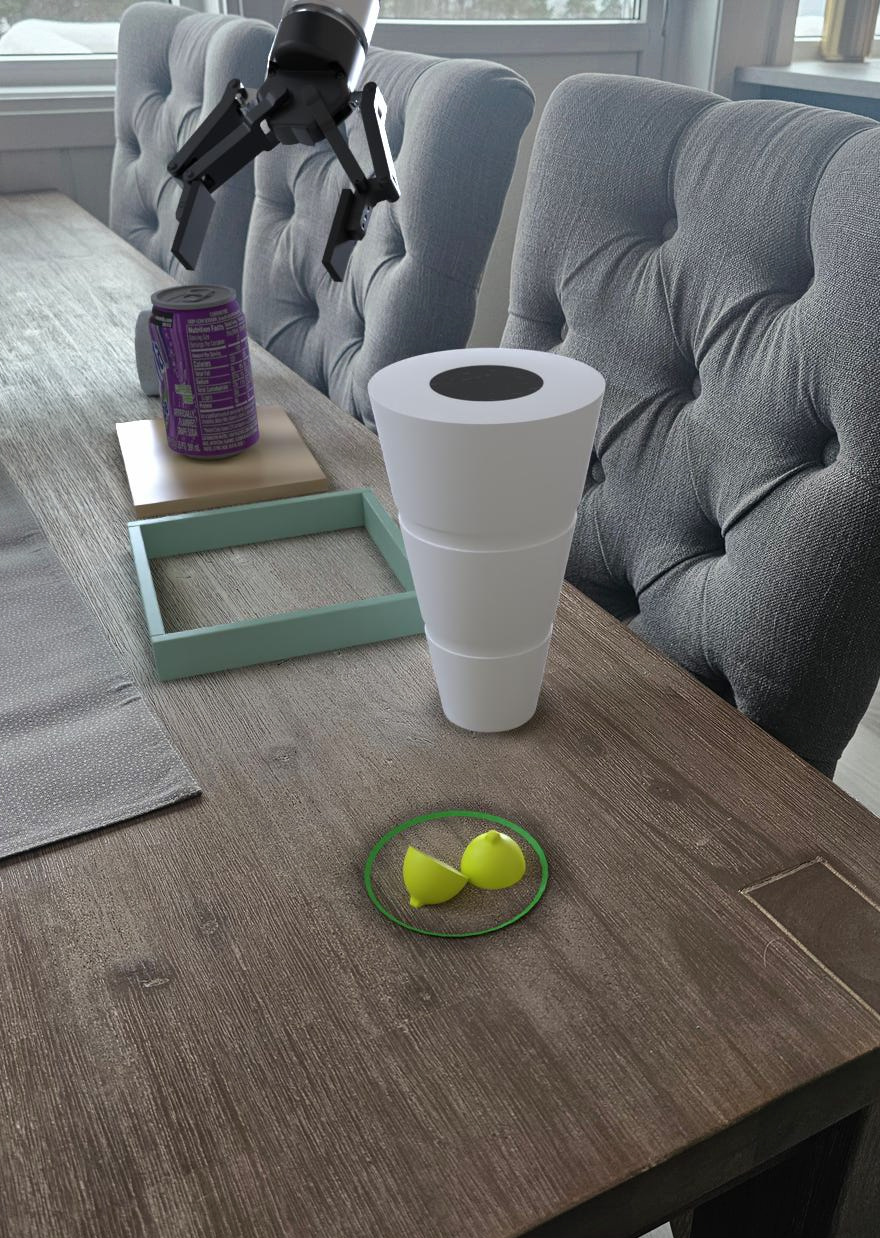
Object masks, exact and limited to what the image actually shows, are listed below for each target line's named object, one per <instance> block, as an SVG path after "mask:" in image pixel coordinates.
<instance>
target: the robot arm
mask: <svg viewBox="0 0 880 1238" xmlns="http://www.w3.org/2000/svg"><path fill="white" fill-rule="evenodd" d="M382 1H383V0H285V1H284V4H283V8H282V11H281V16H280V21H279V23H278V26H277V29H276V32H275V34H274V35H275V36H274V39H273V41H272V45H271V48H270V50H269V54H268V59H267V60H268V62H267V74H266V78H265V80H264V82H263V83H262V84H261V85H260V86H259V87H258V88H255V87H247V86H244V84H243V83H242V82H241V81H242V80H240V79H239V78H237V77H236V78H233V79H230V80H229V82H228V83H227V84H226V87H225V90H224V92H223V94H222V96H221V99H220V101H219V102H218V103H217V104H216V106H215V107H213V109H212V110H211V112H210V113H209V114H208V115H207V116H206V117H205V119H204V120H203V121H202V123H201V124H200V125H199V126H198V127H197V129H196V130H195V131H194V132H193V133H192V135H190V137H189V138H188V140H187V141H185V143H184V144H183V145H182V146H181V148H180V149H179V150H178V151H177V153H176V154H174V156H173V157H172V159H171V160H170V161H168V164H167V165H166V171H167V172H168V174H169V175H170V177H172V179H173V180H174V182H175V183H176V184H177V185H178V186H179V188H180V190H181V194H180V197H179V200H178V202H177V203H178V204H177V206H176V210H175V213H174V214H175V220H176V221H177V222H178V226H177V229H176V232H175V235H174V239H173V242H172V245H171V248H170V252H171V254H172V255H173V256H174V257H175V258H176V259H177V261H178V262H179V263H180V264H181V265H182V266H183V268H184V269H185V270H186V271H191V272H193V271H194V272H195V271H196V268H197V264H198V261H199V258H200V254H201V251H202V249H203V245H204V242H205V238H206V235H207V233H208V229H209V226H210V222H211V219H212V216H213V212H214V209H215V206H216V202H217V201H216V200H215V199H214V198H213V196H212V194H213V193H214V192H215V191H217V190H218V189H219V188H220V187H222V186H223V185H224V184H225V183H226V182H228V181H229V180H230V179H231V178H233V177H234V176H235V175H236V174H237V173H239V172H240V171H241V170H242V169H243V168H245V167H246V166H247V165H248V164H249V163H251V162H252V161H253V160H254V159H255V158H257V157H258V156H259V155H260V154H262V153H263V152H266V153H267V152H271V151H272V150H274V149H275V148H276V147H277V146H278V145H280V144H281V145H283V146H294V145H299V144H301V145H304V146H306V147H317V144H318V143H321V142H323V141H324V140H326V142H327V143H328V145H329V147H330V149H331V150H332V152H333V154H334V155H335V157H336V159H337V161H338V162H339V164H340V166H341V167H342V169H343V171H344V173H345V175H346V176H347V178H348V180H349V182H350V184H351V185H352V188H353V189H354V191H353V190H352V188H342V189H341V193H340V195H339V199H338V203H337V206H336V210H335V213H334V217H333V220H332V224H331V227H330V230H329V234H328V237H327V242H326V244H325V248H324V251H323V255H322V259H321V264H322V266H323V267H324V268H325V270H326V271H327V273H328V275H329V277H330V278H331V279H332V280H333V282H334V283H343V282H344V279H345V277H346V273H347V270H348V269H347V268H348V265H349V261H350V258H351V255H352V252H353V251H352V250H353V247H354V243H355V241H359V242H361V241H363V240H364V238H365V237H366V234H367V231H368V228H369V224H370V221H371V217H372V213H373V210H374V208H375V207H376V206H377V205H378V204H379V203H382V202H385V201H386V202H388V203H391V204H395V203H396V202H398V201H399V200H400V198H401V190H400V188H399V184H398V179H397V175H396V170H395V166H394V161H393V158H392V154H391V149H390V146H389V145H390V144H389V142H388V137H387V133H386V129H385V123H386V122H385V121H386V117H387V116H386V115H387V109H388V107H387V104H386V102H385V99H384V97H383V95H382V92H381V91H380V89H379V88H380V87H379V86H378V84H377V83H376V82H375V81H367V83H365V84H363V88H362V90H358V88H359V84H360V81H361V78H362V73H363V70H364V67H365V62H366V57H367V54H368V51H369V48H370V45H371V41H372V37H373V35H374V31H375V28H376V24H377V21H378V18H379V14H380V9H381V6H382ZM354 111H356V113H357V115H358V117H359V119H360V120H362V124H363V125H362V126H363V128H364V133H365V137H366V138H365V139H366V141H367V146H368V151H369V154H370V158H371V163H372V167H373V172H374V177H370V178H368V177H367V176H366V174H365V172H363V171H364V170H362V167H361V166H360V164H359V162H358V161H357V159H356V157H355V156H354V154H353V152H352V150H351V149H350V147H349V144H348V143H347V141H346V140H345V138H344V136H343V134H342V133H341V131H340V129H339V126H341V125H342V124H343V123H344V122H345V121H347V119H348V118H350V117H351V115H352V114H353V113H354ZM263 121H265V123H266V126H267V127H268V129H269V131H268V132H267V133H265V131H264V130H263V128H262V126H261V123H263ZM203 177H204V179H203Z"/></svg>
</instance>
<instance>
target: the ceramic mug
mask: <svg viewBox="0 0 880 1238" xmlns="http://www.w3.org/2000/svg"><path fill="white" fill-rule="evenodd" d="M151 310H152V309H149V308H144V309H142V310H141V311H140V312H139V314H138V316H137V318H136V322H135V326H134V354H135V355H134V356H135V363H136V364H135V365H136V372H137V376H138V377H137V378H138V380H139V385H140V387H141V390H142V391H143V393H144V394H145V395H146V396H148V397H150V396H151V397H152V396H154V397H155V396H156V397H157V396H160V392H159V386H158V380H157V374H156V368H155V362H154V356H153V350H152V344H151V338H150V332H149V325H148V321H149V317H150V314H151Z"/></svg>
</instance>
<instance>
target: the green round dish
mask: <svg viewBox="0 0 880 1238" xmlns="http://www.w3.org/2000/svg"><path fill="white" fill-rule="evenodd" d="M445 817H446V818H449V817H470V818H476V819H484V820H488V821H491V822H495V823H498V824H500V825H503V826H505V827H507V828H510V829H511V830H513V831H515V833H517V834H519V835H520V836H522V837H523V838H524V839H525V840H526V842H528V843H529V844H530V845H531V846H532V848H533V850H534V851H535V853H537V855H538V858H539V862H540V864H541V871H542V879H541V883H540V887H539V890H538V892H537V893H536V895H535V897H534V899H533V900H532V902H530V904H529V905H528V906H527V907H526V908H525V909H524V910H523V911H522V912H520V913H519V914H518V915H517V916H515V917H514V918H513V919H511V920H509V921H506V922H505V923H502V924H499V925H498V926H496V927H493V928H489V929H486V930H481V931H479V932H477V931H476V932H471V933H464V934H443V933H437V932H431V931H425V930H422V929H419V928H416V927H412V926H410V925H408V924H406V923H404V922H402V921H400V920H398V919H396V918H395V917H394V916H393V915H391V914H390V913H389V912H388V911H386V910H385V909H384V908H383V906H382V904H380V902H379V901H378V900H377V898H376V895H375V894H374V891H373V888H372V882H371V871H372V865H373V863H374V861H375V858H376V856H377V855H378V853H379V851H380V850H382V848H383V846H384V845H385V844H386V843H387V842H389V840H391V839H392V838H393V837H395V835H397V834H399V833H400V832H402V831H404V830H405V829H407V828H409V827H412V826H414V825H417V824H420V823H422V822H426V821H430V820H433V819H439V818H445ZM526 866H527V865H526V860H525V857H524V854H523V852H522V849H521V848H520V846H519V845H518V843H517V842H516V841H515V840H514V839H512V838H511V837H510V836H508V835H506V834H505V833H502V832H498V831H497V830H495V829H490V830H488V831H487V832H484V833H481V834H479V835H478V836H476V837H474V838H473V839H472V840H471V841H470V843H468V845H467V846H466V848H465V850H464V852H463V854H462V857H461V861H460V871H459V870H457V869H456V868H454V867H453V866H451V865H449V864H447V863H446V862H443V861H441V860H440V859H438V858H437V857H434V856H432V855H431V854H429V853H427V852H425V851H424V850H421V849H420V848H417V847H414V846H412V845H409V846H408V849H407V851H406V853H405V856H404V860H403V866H402V877H403V882H404V886H405V888H406V890H407V892H408V894H409V895H410V899H409V904H410V906H411V907H413V908H416V909H419V908H421V907H423V906H425V905H439V904H442V903H445V902H447V901H449V900H451V899H453V898H454V897H456V896H457V895H458V894H459V893H460V892H461V891H462V890H463V888H464V887H466V885H467V884H468V883H469V884H471V885H473V886H474V887H477V888H480V889H484V890H502V889H505V888H509V887H512V886H513V885H515V884H516V883H518V882H519V881H520V880H521V879H522V878H523V877H524V874H525V873H526V868H527V867H526ZM548 867H549V866H548V861H547V857H546V855H545V851H544V850H543V849H542V847H541V845H540V844H539V842H538V841H537V840H536V839H535V838H534V837H533V836H532V835H531V834H530V833H529V832H528V831H527V830H525V829H523V827H520V826H519V825H517V824H516V823H514V822H511V821H509V820H508V819H505V818H502V817H500V816H497V815H493V814H490V813H486V812H479V811H471V810H446V811H438V812H432V813H428V814H424V815H421V816H417V817H415V818H412V819H410V820H408V821H405V822H403V823H401V824H400V825H398V826H396V827H394V828H393V829H391V830H390V831H388V832H387V833H386V834H385V835H383V837H382V838H380V839H379V840H378V841H377V843H376V844H375V846H374V847H373V848H372V849H371V851H370V853H369V855H368V857H367V860H366V861H365V867H364V873H363V877H364V885H365V889H366V891H367V893H368V896H369V899H370V900H371V901H372V903H373V904H374V905H375V906H376V907H377V909H378V910H379V911H380V912H381V913H382V914H384V915H385V916H386V917H388V918H389V919H390V920H391V921H393V922H395V923H397V924H399V925H400V926H403V927H404V928H406V929H409V930H413V931H415V932H418V933H421V934H426V935H432V936H438V937H467V936H475V935H482V934H486V933H488V932H489V933H490V932H491V931H496V930H498V929H501V928H503V927H506V926H507V925H510V924H512V923H514V922H516V921H517V920H519V919H520V918H521V917H523V916H524V915H525V914H527V913H528V912H530V910H532V908H533V907H534V906H535V905H536V904H537V902H538V901H539V900H540V899H541V897H542V895H543V893H544V892H545V890H546V886H547V883H548V878H549V868H548Z"/></svg>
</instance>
